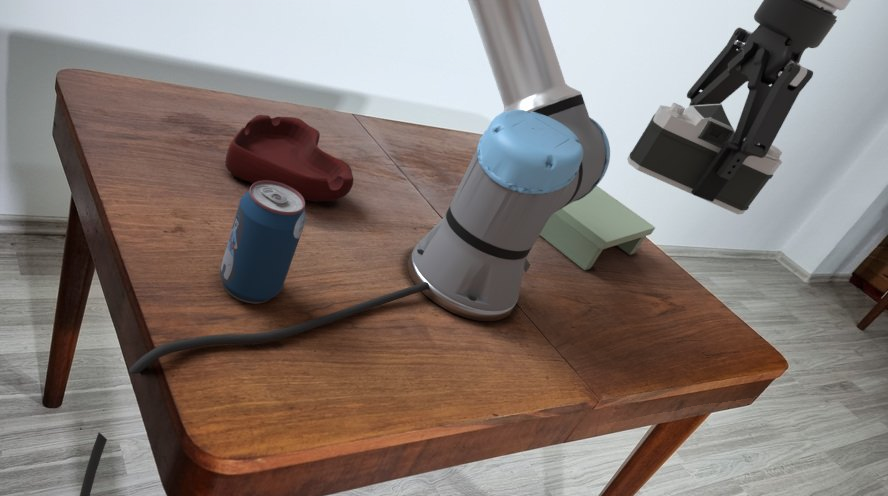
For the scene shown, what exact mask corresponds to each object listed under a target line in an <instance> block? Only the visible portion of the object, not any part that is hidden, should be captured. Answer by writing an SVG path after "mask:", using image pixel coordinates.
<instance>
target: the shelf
mask: <svg viewBox="0 0 888 496" xmlns="http://www.w3.org/2000/svg"><path fill="white" fill-rule="evenodd" d="M655 229H656V226H654V225H653V224H652V223H650V222H649V221H647V220H646V219H644V218H643V217H641V216H640V215H639V214H638V213H636V212H635V211H633V210H632V209H630V208H629V207H628V206H626V205H625V204H623V203H622V202H620V201H619V200H618V199H616V198H615V197H614V196H612V195H611V194H609V193H608V192H606V190H603V188H601V187H600V186H599V185H597V186H596V187H595V188H594V189H593V190H592V191H591V192H590V193H589V194H588V195H586V196H585V197H584V198H582V199H580V200H577V201H574V202H572V203H570V204H568V205H567V206H565V207H563V208H562V209H560V210H558V211H557V212H555V213H553V214H552V215H551V217H550V218H549V220H548V221H547V223H546V225H545V226H544V228H543V230H542V231H541V233H540V235H539V237H542V238H543V239H544V240H545V241H547V243H549V244H550V245H552V246H553V247H554V248H555V249H557V250H558V251H559V252H560V253H562V254H563V255H565V256H566V257H567V258H568V259H569V260H571V262H573V263H575V264H576V265H577V266H578V267H579V268H581V269H582V270H583V271H587V270H591V268H592V267H593V266H594V264H595V262H596V261H597V259H598V258H599V256H600V255H601V254H602V252H603V250H606V249H609V248H612V247H615V246H617V248H619V249H621V250H622V251H624V253H626V254H627V255H630V256H631V255H634V254H636V253H637V250H638V249H639V248H640V247H641V244H642V243H643V241H644V240H645V239H646V237H647V236H650V235H652V234H653V232H654V231H655Z"/></svg>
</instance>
